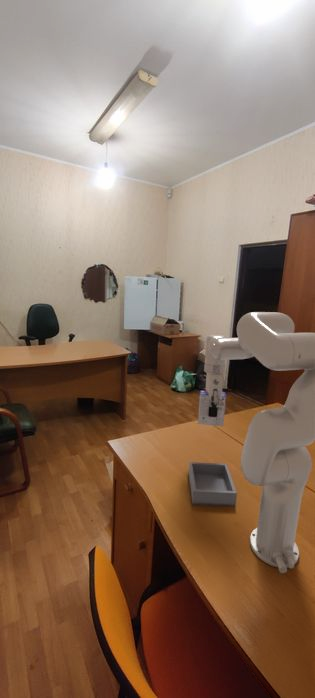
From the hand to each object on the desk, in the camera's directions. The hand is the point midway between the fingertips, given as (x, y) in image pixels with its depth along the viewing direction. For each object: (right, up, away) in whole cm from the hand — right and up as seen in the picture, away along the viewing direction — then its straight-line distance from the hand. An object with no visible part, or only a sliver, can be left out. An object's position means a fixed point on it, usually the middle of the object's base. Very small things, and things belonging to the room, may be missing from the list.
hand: (211, 412), depth 116 cm
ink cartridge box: (0, -4, +1) cm, 4 cm away
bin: (-2, -25, -10) cm, 27 cm away
